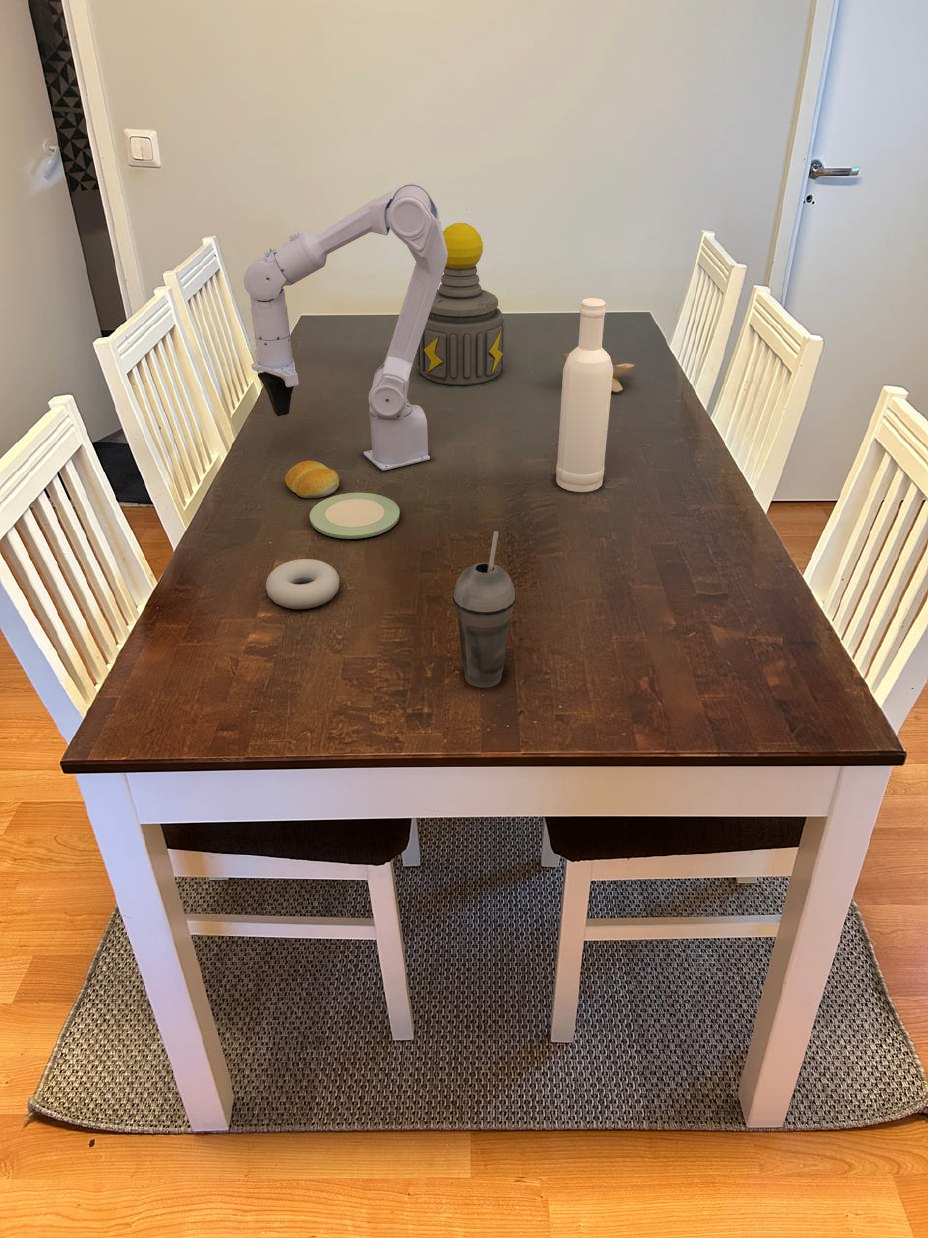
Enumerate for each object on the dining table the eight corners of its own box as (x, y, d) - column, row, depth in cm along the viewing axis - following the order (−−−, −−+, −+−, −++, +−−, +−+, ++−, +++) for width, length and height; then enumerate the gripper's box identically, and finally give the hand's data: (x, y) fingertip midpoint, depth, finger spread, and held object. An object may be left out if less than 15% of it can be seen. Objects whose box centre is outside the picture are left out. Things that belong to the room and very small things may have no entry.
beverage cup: (451, 659, 116) (449, 517, 104) (509, 656, 116) (514, 515, 105) (455, 696, 110) (454, 550, 98) (516, 693, 110) (522, 547, 99)
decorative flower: (650, 374, 193) (647, 330, 186) (627, 404, 187) (623, 359, 180) (585, 366, 200) (580, 323, 193) (561, 393, 194) (555, 350, 187)
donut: (258, 586, 130) (280, 621, 122) (254, 565, 128) (277, 599, 120) (325, 569, 134) (351, 602, 126) (323, 548, 132) (349, 580, 124)
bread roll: (308, 505, 149) (305, 482, 147) (279, 485, 155) (276, 463, 153) (350, 490, 154) (348, 467, 151) (320, 471, 159) (318, 450, 157)
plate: (376, 491, 153) (376, 484, 153) (415, 527, 143) (415, 520, 143) (296, 511, 148) (295, 504, 147) (331, 550, 138) (331, 543, 137)
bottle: (612, 481, 156) (631, 300, 139) (584, 497, 152) (599, 312, 134) (574, 467, 161) (587, 290, 144) (545, 482, 156) (556, 301, 139)
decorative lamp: (451, 351, 210) (450, 208, 193) (520, 368, 201) (526, 220, 184) (398, 374, 198) (392, 225, 181) (470, 394, 189) (471, 238, 172)
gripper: (234, 326, 155) (245, 404, 163) (264, 351, 145) (275, 433, 153) (274, 320, 158) (283, 396, 166) (306, 344, 148) (315, 424, 155)
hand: (281, 413), depth 159 cm, fingers closed
